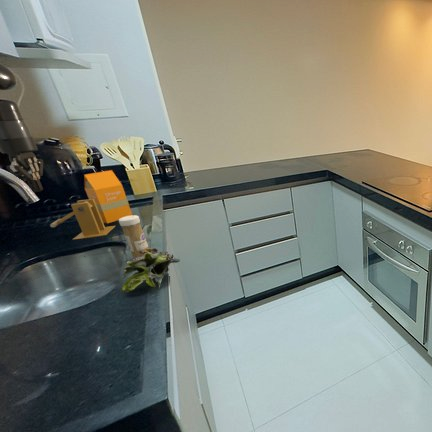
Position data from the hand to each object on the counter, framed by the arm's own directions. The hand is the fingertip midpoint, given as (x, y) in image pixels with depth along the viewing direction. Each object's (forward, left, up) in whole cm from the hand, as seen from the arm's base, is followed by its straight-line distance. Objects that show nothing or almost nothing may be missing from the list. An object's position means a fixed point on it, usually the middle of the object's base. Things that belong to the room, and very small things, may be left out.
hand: (37, 191), depth 95 cm
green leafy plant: (+38, -44, -19) cm, 61 cm away
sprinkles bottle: (+30, -26, -19) cm, 44 cm away
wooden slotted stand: (+9, +2, -18) cm, 20 cm away
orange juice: (+10, +17, -19) cm, 27 cm away
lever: (+5, +2, -11) cm, 12 cm away
